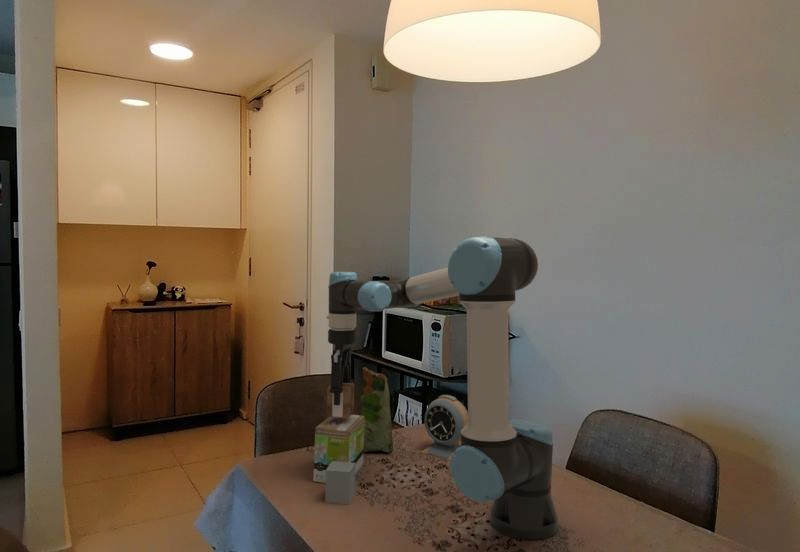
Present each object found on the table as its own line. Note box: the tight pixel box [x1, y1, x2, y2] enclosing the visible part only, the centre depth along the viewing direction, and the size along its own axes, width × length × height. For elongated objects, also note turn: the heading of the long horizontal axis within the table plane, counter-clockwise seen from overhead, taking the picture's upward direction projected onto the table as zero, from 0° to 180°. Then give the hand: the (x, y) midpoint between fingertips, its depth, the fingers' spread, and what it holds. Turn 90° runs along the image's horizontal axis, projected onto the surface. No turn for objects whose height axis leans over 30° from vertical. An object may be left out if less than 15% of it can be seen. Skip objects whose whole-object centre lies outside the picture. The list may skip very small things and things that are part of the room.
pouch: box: [360, 366, 394, 453], centre depth 173 cm, size 11×12×25 cm
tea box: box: [313, 414, 365, 484], centre depth 155 cm, size 15×10×15 cm, turn 168°
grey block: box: [324, 461, 356, 505], centre depth 139 cm, size 6×6×8 cm
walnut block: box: [326, 382, 355, 418], centre depth 154 cm, size 6×6×8 cm
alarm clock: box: [420, 394, 468, 462], centre depth 173 cm, size 14×10×18 cm
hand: (340, 412), depth 154 cm, fingers closed on walnut block, 6 cm apart
